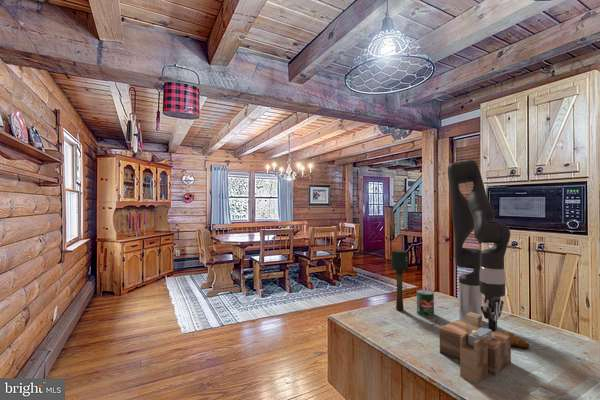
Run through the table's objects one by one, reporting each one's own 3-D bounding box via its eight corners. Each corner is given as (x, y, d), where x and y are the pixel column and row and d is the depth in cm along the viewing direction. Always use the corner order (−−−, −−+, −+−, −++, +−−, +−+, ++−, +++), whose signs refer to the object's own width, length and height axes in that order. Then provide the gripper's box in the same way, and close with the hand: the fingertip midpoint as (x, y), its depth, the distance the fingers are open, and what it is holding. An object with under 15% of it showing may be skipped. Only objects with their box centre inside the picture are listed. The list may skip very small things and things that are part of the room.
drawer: (482, 335, 102) (481, 323, 102) (491, 338, 100) (491, 326, 100) (468, 344, 96) (468, 331, 96) (478, 347, 94) (478, 334, 94)
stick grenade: (410, 313, 148) (409, 252, 148) (391, 312, 149) (391, 252, 150) (407, 307, 156) (406, 249, 156) (390, 306, 158) (389, 249, 158)
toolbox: (457, 342, 117) (457, 310, 117) (510, 362, 103) (510, 325, 103) (426, 360, 104) (425, 324, 104) (482, 386, 90) (481, 344, 90)
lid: (457, 322, 117) (457, 304, 117) (510, 338, 103) (509, 318, 103) (440, 330, 109) (439, 311, 109) (494, 350, 95) (494, 327, 95)
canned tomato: (425, 310, 152) (424, 288, 152) (437, 315, 145) (437, 292, 145) (413, 312, 149) (412, 290, 149) (425, 318, 142) (425, 294, 142)
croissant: (485, 341, 118) (485, 328, 118) (489, 335, 123) (488, 323, 123) (528, 353, 109) (528, 339, 109) (530, 346, 114) (530, 333, 114)
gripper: (488, 275, 111) (489, 322, 111) (471, 281, 103) (472, 331, 103) (512, 279, 105) (512, 329, 105) (496, 285, 97) (496, 339, 97)
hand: (492, 330), depth 104 cm, fingers closed
